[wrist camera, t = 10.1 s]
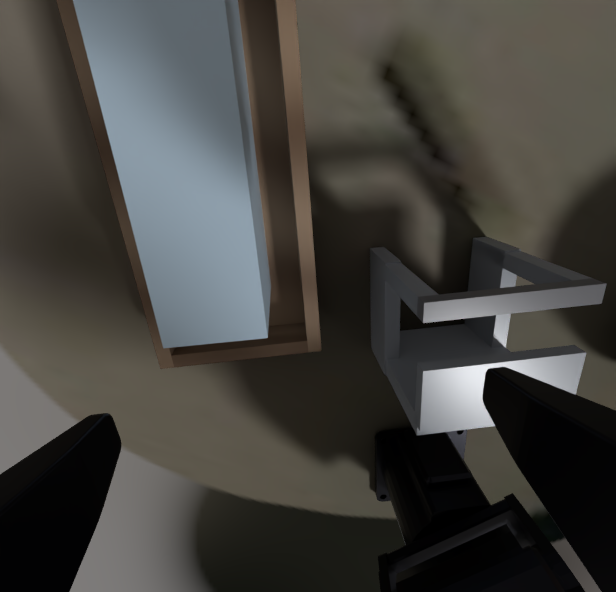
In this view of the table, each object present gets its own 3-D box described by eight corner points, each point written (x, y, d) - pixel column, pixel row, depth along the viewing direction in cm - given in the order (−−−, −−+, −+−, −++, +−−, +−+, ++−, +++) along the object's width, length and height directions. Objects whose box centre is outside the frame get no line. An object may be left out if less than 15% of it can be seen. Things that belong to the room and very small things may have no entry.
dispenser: (475, 336, 22) (570, 421, 15) (371, 348, 22) (417, 441, 15) (486, 236, 20) (607, 281, 12) (369, 248, 19) (424, 300, 12)
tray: (315, 325, 21) (321, 351, 18) (176, 340, 21) (160, 368, 18) (279, -130, 13) (280, -205, 11) (60, -119, 13) (1, -195, 10)
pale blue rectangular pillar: (270, 285, 19) (267, 337, 13) (197, 292, 19) (163, 348, 13) (232, -43, 14) (201, -184, 8) (130, -39, 13) (26, -179, 8)
